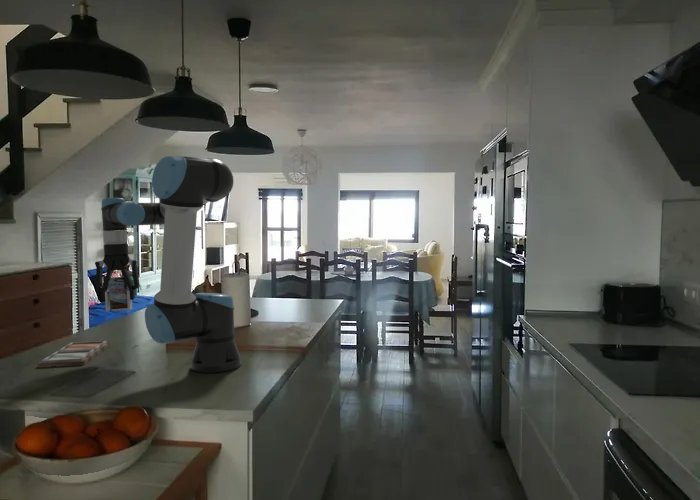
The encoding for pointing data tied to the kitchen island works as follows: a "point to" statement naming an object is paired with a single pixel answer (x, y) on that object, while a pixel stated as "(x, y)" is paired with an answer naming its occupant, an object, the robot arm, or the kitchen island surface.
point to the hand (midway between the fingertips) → (119, 309)
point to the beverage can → (117, 294)
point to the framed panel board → (74, 354)
